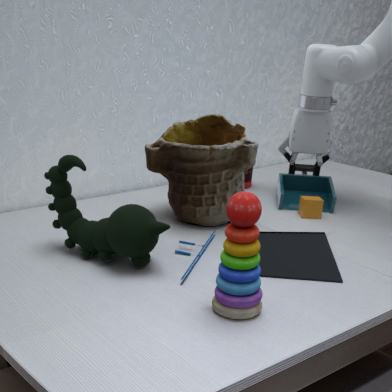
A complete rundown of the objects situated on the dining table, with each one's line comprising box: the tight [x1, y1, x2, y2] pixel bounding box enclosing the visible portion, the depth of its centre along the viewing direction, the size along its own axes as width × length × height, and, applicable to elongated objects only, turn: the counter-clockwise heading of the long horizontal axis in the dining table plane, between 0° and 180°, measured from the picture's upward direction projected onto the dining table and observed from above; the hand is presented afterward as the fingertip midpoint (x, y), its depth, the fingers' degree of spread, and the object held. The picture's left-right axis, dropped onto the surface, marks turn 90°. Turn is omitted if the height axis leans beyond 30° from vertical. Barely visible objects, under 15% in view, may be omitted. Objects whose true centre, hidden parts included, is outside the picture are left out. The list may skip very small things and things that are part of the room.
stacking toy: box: [211, 190, 263, 320], centre depth 75 cm, size 8×8×19 cm
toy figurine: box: [43, 154, 171, 269], centre depth 90 cm, size 9×19×25 cm
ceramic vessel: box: [144, 113, 260, 227], centre depth 111 cm, size 23×24×25 cm
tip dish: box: [276, 163, 337, 214], centre depth 126 cm, size 13×16×6 cm
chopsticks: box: [174, 229, 216, 286], centre depth 97 cm, size 1×25×5 cm
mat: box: [257, 230, 344, 283], centre depth 105 cm, size 18×34×1 cm, turn 175°
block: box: [297, 196, 324, 220], centre depth 119 cm, size 4×4×4 cm
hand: (302, 179), depth 131 cm, fingers closed on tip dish, 5 cm apart
